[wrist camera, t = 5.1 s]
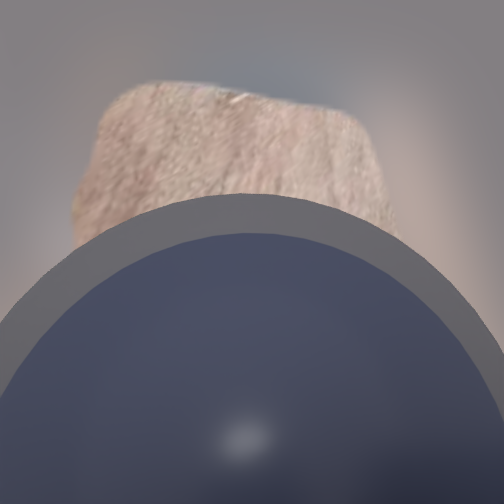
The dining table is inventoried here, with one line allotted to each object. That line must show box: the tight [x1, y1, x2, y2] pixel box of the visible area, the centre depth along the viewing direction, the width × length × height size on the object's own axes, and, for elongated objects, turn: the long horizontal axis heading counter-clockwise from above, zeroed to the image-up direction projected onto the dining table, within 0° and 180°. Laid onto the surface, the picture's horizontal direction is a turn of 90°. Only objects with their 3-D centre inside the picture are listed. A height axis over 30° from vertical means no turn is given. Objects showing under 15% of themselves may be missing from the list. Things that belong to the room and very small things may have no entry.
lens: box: [0, 193, 504, 504], centre depth 8 cm, size 5×5×12 cm
